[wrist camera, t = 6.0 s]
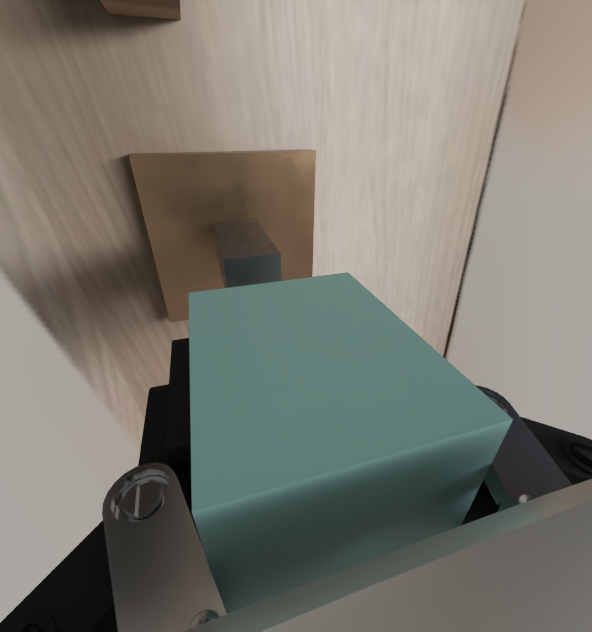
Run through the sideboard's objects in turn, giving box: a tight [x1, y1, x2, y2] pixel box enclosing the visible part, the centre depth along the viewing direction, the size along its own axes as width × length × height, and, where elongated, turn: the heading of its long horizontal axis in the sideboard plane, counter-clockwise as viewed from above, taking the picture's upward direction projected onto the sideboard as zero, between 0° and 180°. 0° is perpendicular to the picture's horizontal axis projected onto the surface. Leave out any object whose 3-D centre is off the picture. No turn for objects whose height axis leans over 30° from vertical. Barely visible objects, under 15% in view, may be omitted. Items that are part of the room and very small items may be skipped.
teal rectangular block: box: [189, 273, 513, 614], centre depth 9 cm, size 5×5×7 cm
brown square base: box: [129, 150, 316, 322], centre depth 18 cm, size 10×10×7 cm
